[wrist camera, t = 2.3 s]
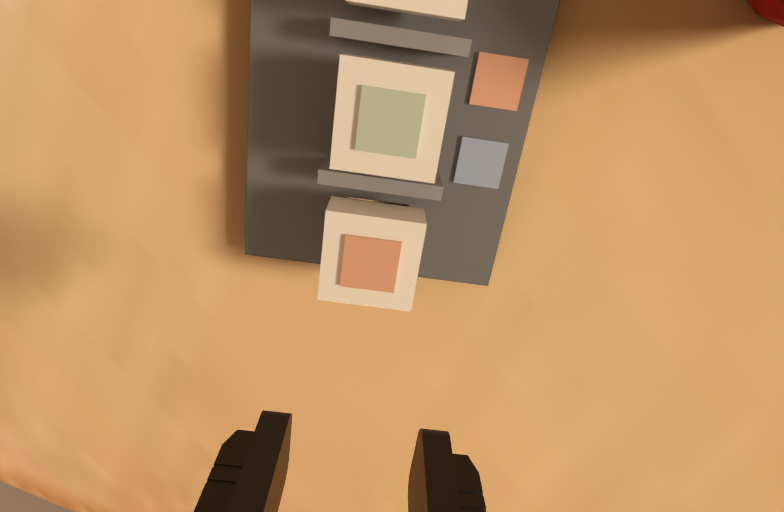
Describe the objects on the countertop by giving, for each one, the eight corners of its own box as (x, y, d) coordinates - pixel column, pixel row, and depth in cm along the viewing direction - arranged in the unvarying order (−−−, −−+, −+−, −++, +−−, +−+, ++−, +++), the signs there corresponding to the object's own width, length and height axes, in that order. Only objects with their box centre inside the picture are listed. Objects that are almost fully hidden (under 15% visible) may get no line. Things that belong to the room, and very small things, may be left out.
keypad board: (262, -128, 21) (235, -162, 18) (569, -75, 22) (603, -97, 19) (252, 244, 29) (231, 273, 25) (483, 274, 29) (496, 307, 26)
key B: (348, 52, 22) (339, 54, 19) (445, 67, 23) (455, 72, 19) (338, 150, 24) (328, 169, 21) (428, 163, 25) (435, 184, 21)
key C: (335, 186, 25) (324, 211, 21) (422, 199, 25) (427, 225, 22) (327, 266, 27) (316, 301, 23) (408, 277, 27) (411, 313, 24)
